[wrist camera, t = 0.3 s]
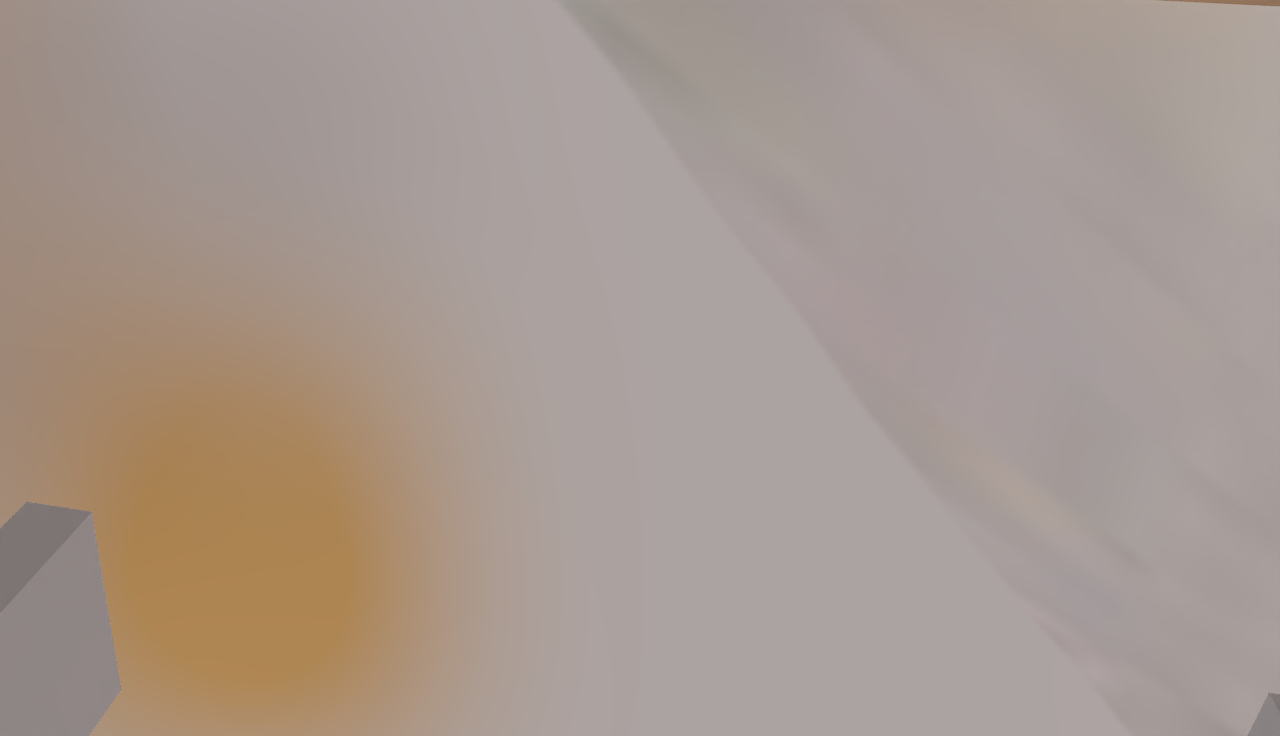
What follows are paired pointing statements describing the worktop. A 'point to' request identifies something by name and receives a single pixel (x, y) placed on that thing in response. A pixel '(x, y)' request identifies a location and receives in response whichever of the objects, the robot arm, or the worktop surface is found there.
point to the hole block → (1238, 2)
